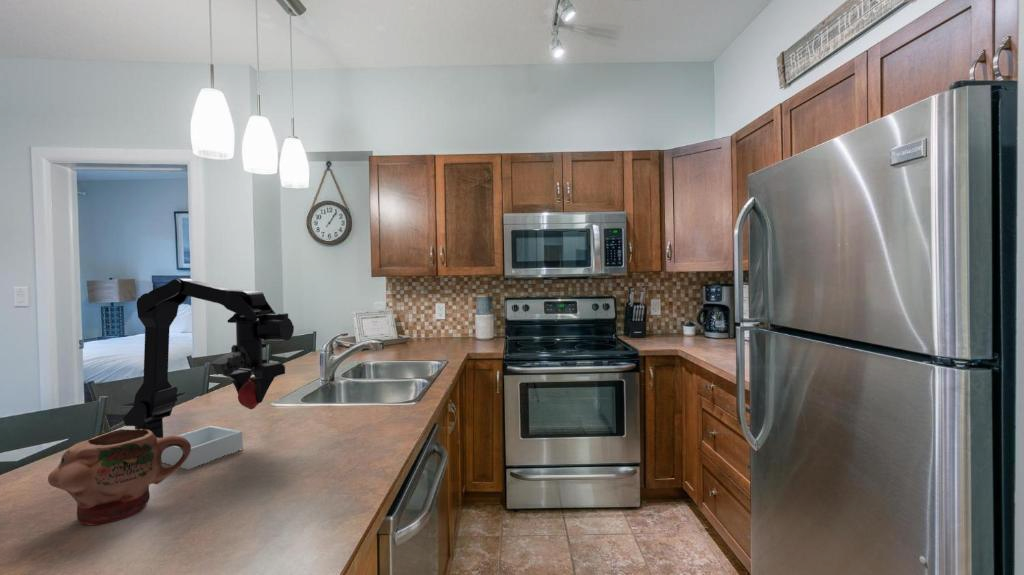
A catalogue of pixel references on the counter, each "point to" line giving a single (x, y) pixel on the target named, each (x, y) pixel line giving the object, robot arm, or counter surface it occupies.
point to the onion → (247, 395)
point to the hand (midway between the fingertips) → (251, 401)
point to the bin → (205, 446)
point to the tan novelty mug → (115, 473)
